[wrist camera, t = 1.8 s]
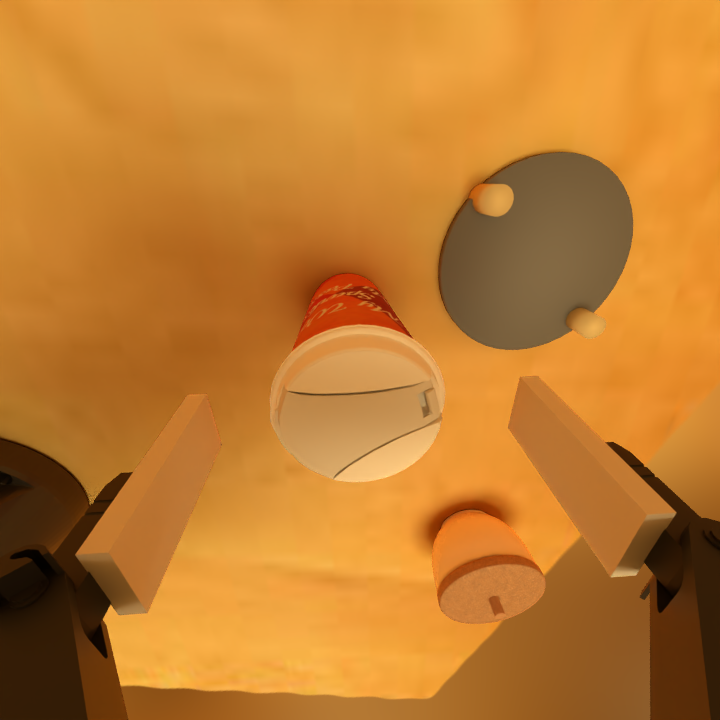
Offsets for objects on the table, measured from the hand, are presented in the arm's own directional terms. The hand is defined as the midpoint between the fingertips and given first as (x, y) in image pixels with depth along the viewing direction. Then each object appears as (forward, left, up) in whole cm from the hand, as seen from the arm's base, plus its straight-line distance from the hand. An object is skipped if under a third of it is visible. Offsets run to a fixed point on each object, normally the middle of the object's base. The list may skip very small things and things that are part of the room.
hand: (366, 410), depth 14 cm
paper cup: (0, 0, -13) cm, 13 cm away
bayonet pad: (+14, +3, -13) cm, 19 cm away
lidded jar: (+13, -28, -13) cm, 34 cm away
